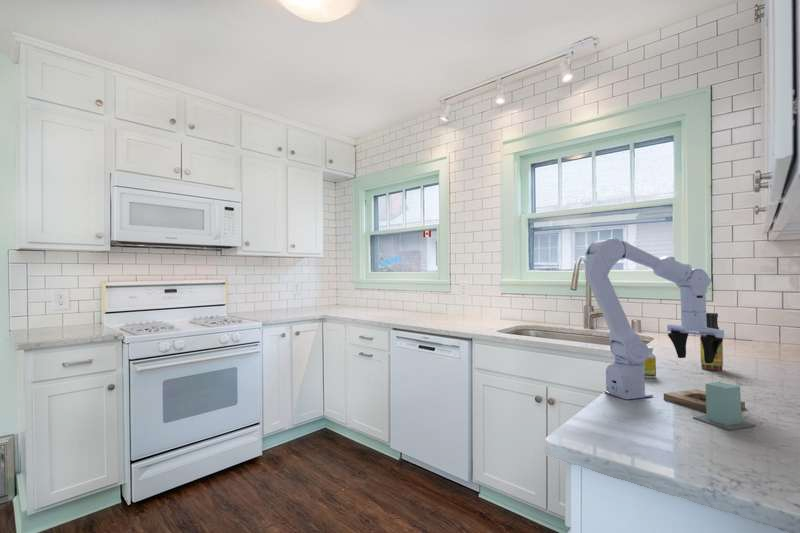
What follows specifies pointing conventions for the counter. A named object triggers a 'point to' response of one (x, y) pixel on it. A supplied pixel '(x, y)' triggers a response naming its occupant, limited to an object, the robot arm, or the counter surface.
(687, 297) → the robot arm
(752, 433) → the counter surface
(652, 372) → the supplement bottle
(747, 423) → the rubber mat
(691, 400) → the block
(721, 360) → the sauce bottle
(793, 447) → the counter surface
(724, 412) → the peg
